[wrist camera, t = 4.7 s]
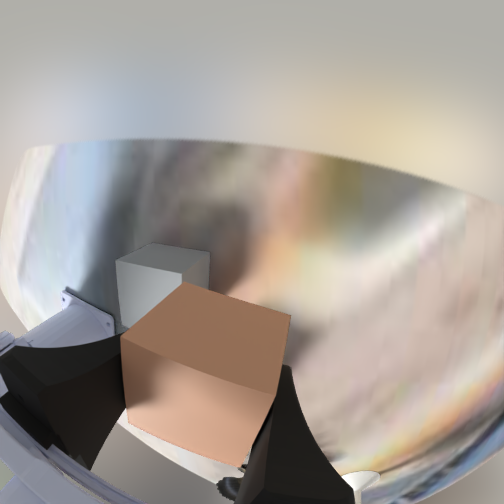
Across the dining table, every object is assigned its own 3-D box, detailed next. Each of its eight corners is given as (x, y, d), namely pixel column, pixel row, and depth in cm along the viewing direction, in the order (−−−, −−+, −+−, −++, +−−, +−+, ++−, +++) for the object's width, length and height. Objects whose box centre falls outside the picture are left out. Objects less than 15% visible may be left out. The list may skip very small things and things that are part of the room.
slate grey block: (208, 311, 22) (182, 344, 17) (154, 298, 23) (121, 325, 18) (210, 251, 20) (181, 273, 16) (153, 242, 21) (115, 259, 17)
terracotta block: (262, 392, 13) (240, 467, 8) (174, 361, 14) (128, 422, 9) (290, 315, 12) (275, 395, 7) (184, 281, 12) (120, 336, 8)
